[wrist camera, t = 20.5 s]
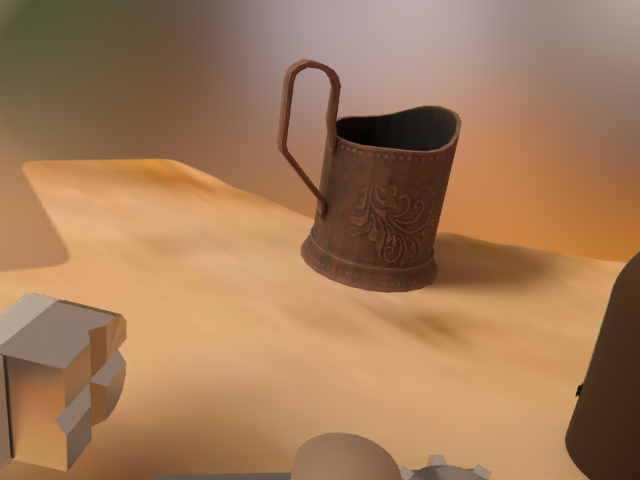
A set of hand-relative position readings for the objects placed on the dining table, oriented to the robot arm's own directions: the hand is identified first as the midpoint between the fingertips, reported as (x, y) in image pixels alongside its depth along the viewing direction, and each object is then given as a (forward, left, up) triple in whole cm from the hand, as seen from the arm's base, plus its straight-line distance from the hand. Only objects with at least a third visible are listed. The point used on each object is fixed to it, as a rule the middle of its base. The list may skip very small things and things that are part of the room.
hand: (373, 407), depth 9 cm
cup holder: (+18, +63, -29) cm, 71 cm away
